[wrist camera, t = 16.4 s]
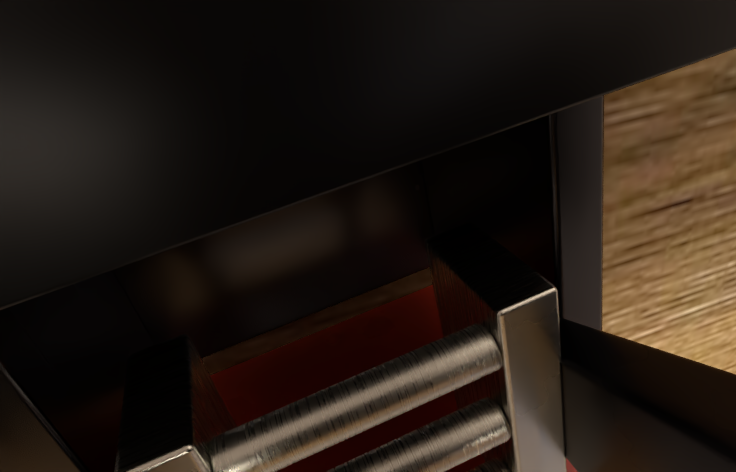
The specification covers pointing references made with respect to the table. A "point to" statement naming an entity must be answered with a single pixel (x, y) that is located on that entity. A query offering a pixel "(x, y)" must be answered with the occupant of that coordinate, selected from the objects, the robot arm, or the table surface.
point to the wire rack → (382, 387)
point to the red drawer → (305, 294)
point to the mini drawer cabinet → (278, 105)
